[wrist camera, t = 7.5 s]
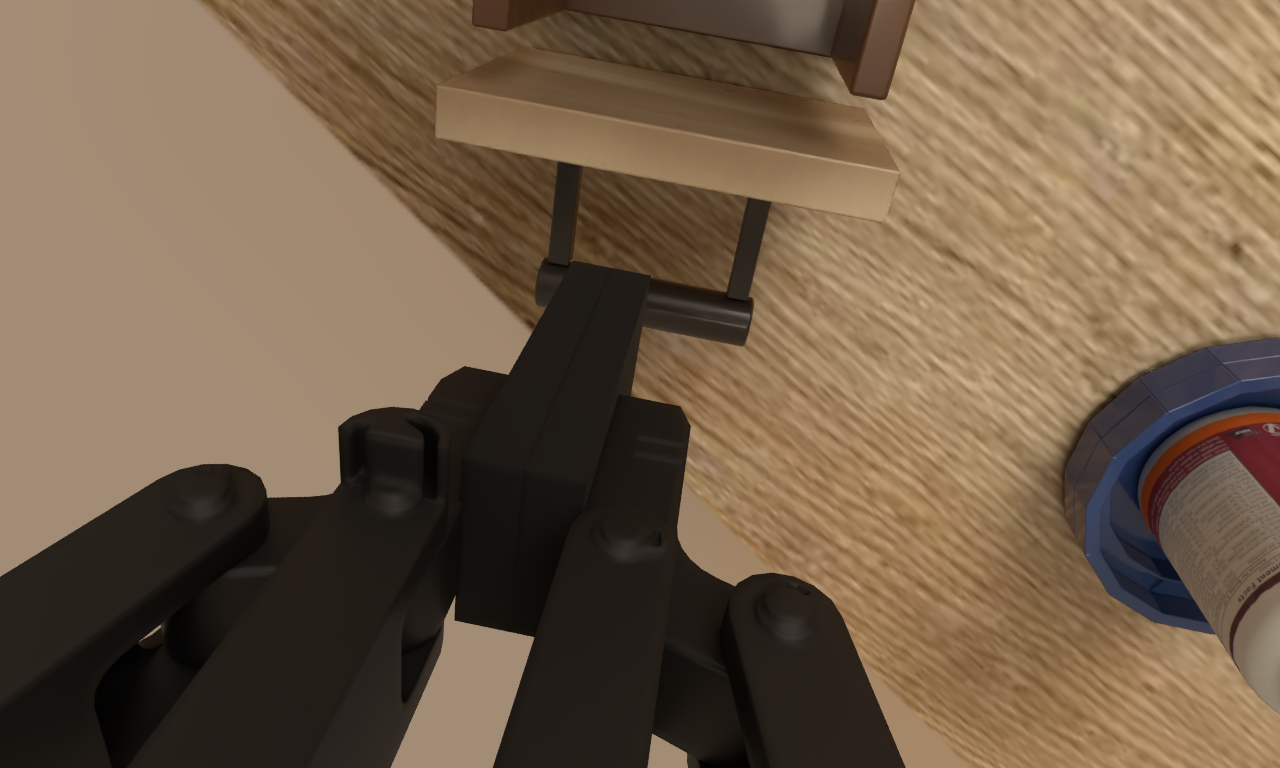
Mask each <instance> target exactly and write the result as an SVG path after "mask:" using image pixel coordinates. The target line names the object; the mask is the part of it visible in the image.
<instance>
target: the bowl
mask: <svg viewBox="0 0 1280 768" xmlns="http://www.w3.org/2000/svg"><path fill="white" fill-rule="evenodd" d="M1249 406H1256V407H1268V408H1276V409H1280V338H1271V339H1263V340H1256V341H1249V342H1241V343H1234V344H1227V345H1220V346H1212V347H1206V348H1203V349H1200V350H1198V351H1196V352H1194V353H1192V354H1189V355H1187V356H1185V357H1183V358H1180V359H1178V360H1176V361H1174V362H1172V363H1169V364H1167V365H1165V366H1163V367H1160V368H1158V369H1156V370H1154V371H1152V372H1149V373H1147V374H1145V375H1143V376H1141V377H1139V379H1136V380H1135V381H1134V382H1133V383H1132V384H1131V385H1129V386H1128V387H1127V388H1126V389H1125V390H1124V391H1123V392H1122V393H1120V394H1119V395H1118V396H1117V397H1116V398H1115V399H1114V400H1112V401H1111V402H1110V403H1109V404H1108V405H1107V406H1106V407H1105V408H1103V409H1102V410H1101V411H1100V412H1099V413H1098V414H1097V415H1096V416H1094V417H1093V418H1092V419H1091V420H1090V422H1089V423H1088V425H1087V427H1086V429H1085V430H1084V432H1083V434H1082V436H1081V438H1080V440H1079V442H1078V444H1077V446H1076V448H1075V450H1074V452H1073V454H1072V456H1071V458H1070V460H1069V462H1068V464H1067V465H1066V467H1065V518H1066V519H1067V521H1068V523H1069V525H1070V527H1071V529H1072V531H1073V533H1074V535H1075V537H1076V539H1077V541H1078V543H1079V545H1080V547H1081V549H1082V551H1083V553H1084V555H1085V556H1086V558H1087V560H1088V561H1089V563H1090V565H1091V566H1092V568H1093V570H1094V571H1095V573H1096V575H1097V576H1098V578H1099V580H1100V581H1101V583H1102V584H1103V586H1104V588H1105V589H1106V591H1107V593H1108V594H1109V595H1110V596H1112V597H1113V598H1115V599H1117V600H1118V601H1120V602H1122V603H1123V604H1125V605H1126V606H1128V607H1130V608H1131V609H1133V610H1134V611H1136V612H1138V613H1139V614H1141V615H1143V616H1144V617H1146V618H1147V619H1149V620H1151V621H1152V622H1155V623H1160V624H1164V625H1169V626H1174V627H1179V628H1184V629H1188V630H1193V631H1198V632H1203V633H1207V634H1216V633H1215V632H1214V630H1213V629H1212V627H1211V626H1210V624H1209V622H1208V621H1207V619H1206V618H1205V616H1204V615H1203V613H1202V611H1201V610H1200V608H1199V607H1198V605H1197V603H1196V602H1195V600H1194V599H1193V597H1192V596H1191V594H1190V592H1189V591H1188V589H1187V588H1186V586H1185V585H1184V583H1183V581H1182V580H1181V578H1180V577H1179V575H1178V573H1177V572H1176V570H1175V569H1174V567H1173V566H1172V564H1171V562H1170V561H1169V559H1168V558H1167V556H1166V555H1165V553H1164V552H1163V550H1162V549H1161V547H1160V545H1159V544H1158V542H1157V540H1156V538H1155V537H1154V535H1153V533H1152V532H1151V530H1150V529H1149V527H1148V525H1147V523H1146V521H1145V519H1144V517H1143V515H1142V513H1141V510H1140V507H1139V502H1138V482H1139V478H1140V475H1141V472H1142V470H1143V468H1144V466H1145V464H1146V462H1147V461H1148V459H1149V458H1150V456H1151V455H1152V454H1153V452H1154V451H1155V450H1156V449H1157V448H1158V447H1159V446H1160V445H1161V444H1162V443H1163V442H1164V441H1165V440H1166V439H1167V438H1168V437H1170V436H1171V435H1172V434H1174V433H1175V432H1176V431H1178V430H1179V429H1181V428H1182V427H1184V426H1186V425H1187V424H1189V423H1191V422H1193V421H1195V420H1197V419H1200V418H1202V417H1204V416H1207V415H1210V414H1213V413H1217V412H1220V411H1224V410H1229V409H1235V408H1240V407H1249Z"/></svg>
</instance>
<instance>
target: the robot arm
mask: <svg viewBox="0 0 1280 768" xmlns="http://www.w3.org/2000/svg"><path fill="white" fill-rule="evenodd" d="M650 278H651V275H645V274H640V273H635V272H630V271H624V270H619V269H614V268H609V267H604V266H598V265H593V264H588V263H583V262H577V261H572V263H571V265H570V267H569V269H568V270H567V272H566V274H565V276H564V277H563V279H562V281H561V283H560V284H559V286H558V288H557V290H556V292H555V293H554V295H553V297H552V299H551V300H550V302H549V304H548V306H547V308H546V309H545V311H544V313H543V315H542V316H541V318H540V320H539V322H538V324H537V325H536V327H535V329H534V331H533V332H532V334H531V336H530V338H529V340H528V341H527V343H526V345H525V347H524V348H523V350H522V352H521V354H520V356H519V357H518V359H517V361H516V363H515V364H514V366H513V368H512V370H511V372H510V373H509V375H506V374H501V373H496V372H491V371H486V370H481V369H476V368H471V367H466V366H464V367H462V368H461V369H459V370H457V371H455V372H453V373H452V374H450V375H448V376H447V377H445V378H442V379H441V380H440V382H439V383H438V384H437V386H436V387H435V389H434V390H433V391H432V393H431V394H430V396H429V397H428V401H425V403H424V404H423V406H422V407H421V408H420V410H416V409H411V408H399V407H387V408H380V409H371V410H368V411H365V412H363V413H360V414H357V415H355V416H352V417H350V418H349V419H348V420H347V421H345V422H344V423H343V424H341V425H340V426H339V427H338V432H339V453H340V473H341V474H340V475H341V483H340V484H339V486H338V487H337V488H336V490H335V491H334V493H333V494H329V495H324V496H313V497H286V498H285V497H282V498H267V494H266V489H265V486H264V484H263V482H262V480H261V478H260V477H259V476H257V475H256V474H254V473H253V472H251V471H250V470H248V469H246V468H242V467H237V466H233V465H229V464H203V465H199V466H194V467H189V468H185V469H180V470H178V471H175V472H173V473H171V474H169V475H167V476H164V477H162V478H160V479H158V480H156V481H155V482H153V483H152V484H150V485H149V486H147V487H145V488H144V489H142V490H140V491H139V492H137V493H135V494H134V495H132V496H130V497H129V498H127V499H126V500H124V501H122V502H121V503H119V504H118V505H116V506H114V507H113V508H111V509H110V510H108V511H106V512H105V513H103V514H101V515H100V516H98V517H97V518H95V519H93V520H92V521H90V522H88V523H87V524H85V525H83V526H82V527H80V528H79V529H77V530H75V531H74V532H73V533H71V534H69V535H67V536H66V537H64V538H62V539H61V540H59V541H58V542H56V543H54V544H53V545H51V546H50V547H48V548H46V549H45V550H43V551H41V552H40V553H38V554H37V555H35V556H33V557H32V558H30V559H28V560H27V561H25V562H24V563H22V564H20V565H19V566H17V567H16V568H14V569H12V570H11V571H9V572H7V573H6V574H4V575H2V576H1V577H0V768H390V767H391V765H392V763H393V761H394V758H395V756H396V753H397V751H398V749H399V747H400V745H401V742H402V740H403V738H404V735H405V733H406V731H407V729H408V726H409V724H410V722H411V719H412V717H413V715H414V713H415V710H416V708H417V706H418V703H419V701H420V699H421V697H422V694H423V692H424V689H425V687H426V685H427V683H428V680H429V678H430V676H431V674H432V671H433V669H434V667H435V664H436V662H437V659H438V658H439V655H440V653H441V648H442V642H443V632H444V631H443V630H444V619H445V617H446V615H447V613H448V610H449V608H450V606H451V604H452V602H453V599H454V597H455V595H456V598H455V621H460V622H465V623H469V624H474V625H479V626H484V627H489V628H493V629H498V630H504V631H508V632H513V633H517V634H523V635H527V636H532V637H535V638H534V641H533V644H532V647H531V650H530V653H529V656H528V659H527V663H526V666H525V669H524V672H523V675H522V678H521V681H520V684H519V688H518V691H517V694H516V697H515V700H514V703H513V706H512V709H511V713H510V716H509V719H508V722H507V725H506V728H505V731H504V734H503V737H502V741H501V744H500V747H499V750H498V753H497V756H496V759H495V762H494V765H493V768H647V766H648V759H649V752H650V744H651V737H652V734H654V735H656V736H658V737H660V738H662V739H663V740H665V741H667V742H669V743H670V744H673V745H674V746H676V747H678V748H680V749H681V750H683V751H685V752H687V764H688V768H905V765H904V763H903V761H902V758H901V756H900V753H899V751H898V749H897V746H896V744H895V741H894V739H893V737H892V734H891V732H890V730H889V727H888V725H887V722H886V720H885V718H884V715H883V713H882V710H881V708H880V706H879V704H878V701H877V699H876V696H875V694H874V691H873V689H872V687H871V684H870V682H869V679H868V677H867V675H866V672H865V670H864V668H863V665H862V663H861V660H860V658H859V656H858V653H857V651H856V648H855V646H854V644H853V641H852V639H851V637H850V634H849V632H848V629H847V627H846V625H845V622H844V620H843V618H842V616H841V614H840V613H839V611H838V610H837V608H836V607H835V605H834V603H833V602H832V600H831V599H830V598H828V597H827V596H826V595H825V594H823V593H822V592H821V591H820V590H818V589H817V588H816V587H815V586H813V585H811V584H809V583H807V582H804V581H802V580H800V579H798V578H796V577H793V576H788V575H782V574H776V573H766V574H758V575H752V576H750V577H748V578H746V579H745V580H743V581H741V582H739V583H738V584H737V585H736V587H735V586H733V585H731V584H729V583H727V582H724V581H722V580H720V579H718V578H716V577H714V576H712V575H711V574H709V573H707V572H706V571H704V570H702V569H701V568H700V567H699V566H697V565H696V564H695V563H694V562H693V561H692V560H690V558H689V557H688V556H687V554H686V553H685V552H684V550H683V549H682V547H681V545H680V542H679V540H678V537H677V536H678V535H677V524H678V516H679V508H680V502H681V494H682V487H683V480H684V472H685V464H686V458H687V449H688V443H689V436H690V428H691V426H690V424H689V422H688V420H687V418H686V416H685V414H684V412H683V411H682V409H681V407H680V406H676V405H670V404H665V403H660V402H655V401H650V400H645V399H640V398H635V397H630V396H631V390H632V384H633V378H634V372H635V366H636V360H637V354H638V349H639V343H640V337H641V331H642V325H643V319H644V313H645V307H646V301H647V295H648V289H649V284H650ZM159 625H161V628H160V629H159V630H157V631H156V632H155V633H153V634H152V635H150V636H149V637H147V638H145V639H143V638H144V637H145V636H146V635H148V634H149V633H150V632H151V631H153V630H154V629H155V628H157V627H158V626H159ZM141 639H143V640H142V641H140V640H141ZM139 641H140V642H139Z"/></svg>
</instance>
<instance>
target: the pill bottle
mask: <svg viewBox="0 0 1280 768" xmlns="http://www.w3.org/2000/svg"><path fill="white" fill-rule="evenodd" d="M1138 502H1139V507H1140V510H1141V513H1142V515H1143V517H1144V519H1145V521H1146V523H1147V525H1148V527H1149V529H1150V530H1151V532H1152V533H1153V535H1154V537H1155V538H1156V540H1157V542H1158V544H1159V545H1160V547H1161V549H1162V550H1163V552H1164V553H1165V555H1166V556H1167V558H1168V559H1169V561H1170V562H1171V564H1172V566H1173V567H1174V569H1175V570H1176V572H1177V573H1178V575H1179V577H1180V578H1181V580H1182V581H1183V583H1184V585H1185V586H1186V588H1187V589H1188V591H1189V592H1190V594H1191V596H1192V597H1193V599H1194V600H1195V602H1196V603H1197V605H1198V607H1199V608H1200V610H1201V611H1202V613H1203V615H1204V616H1205V618H1206V619H1207V621H1208V622H1209V624H1210V626H1211V627H1212V629H1213V630H1214V632H1215V633H1216V635H1217V637H1218V638H1219V640H1220V641H1221V643H1222V644H1223V646H1224V648H1225V649H1226V651H1227V652H1228V654H1229V656H1230V657H1231V659H1232V660H1233V662H1234V663H1235V665H1236V666H1237V668H1238V669H1239V671H1240V673H1241V674H1242V676H1243V677H1244V679H1245V680H1246V681H1247V683H1248V684H1249V686H1250V687H1251V688H1252V690H1253V691H1254V692H1255V693H1256V694H1257V695H1258V697H1259V698H1260V699H1261V700H1262V701H1264V702H1265V703H1266V704H1267V705H1268V706H1269V707H1271V708H1272V709H1273V710H1275V711H1276V712H1278V713H1279V714H1280V409H1276V408H1268V407H1256V406H1249V407H1240V408H1235V409H1229V410H1224V411H1220V412H1217V413H1213V414H1210V415H1207V416H1204V417H1202V418H1200V419H1197V420H1195V421H1193V422H1191V423H1189V424H1187V425H1186V426H1184V427H1182V428H1181V429H1179V430H1178V431H1176V432H1175V433H1174V434H1172V435H1171V436H1170V437H1168V438H1167V439H1166V440H1165V441H1164V442H1163V443H1162V444H1161V445H1160V446H1159V447H1158V448H1157V449H1156V450H1155V451H1154V452H1153V454H1152V455H1151V456H1150V458H1149V459H1148V461H1147V462H1146V464H1145V466H1144V468H1143V470H1142V472H1141V475H1140V478H1139V482H1138Z"/></svg>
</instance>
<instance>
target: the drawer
mask: <svg viewBox="0 0 1280 768" xmlns="http://www.w3.org/2000/svg"><path fill="white" fill-rule="evenodd" d="M914 4H915V0H473V12H472V24H473V25H474V26H477V27H482V28H488V29H493V30H499V31H504V32H505V31H508V30H511V29H514V28H517V27H520V26H522V25H525V24H528V23H531V22H533V21H536V20H539V19H542V18H544V17H547V16H550V15H553V14H555V13H558V12H561V11H564V10H570V11H576V12H581V13H587V14H592V15H598V16H603V17H609V18H614V19H620V20H625V21H631V22H636V23H642V24H647V25H653V26H658V27H664V28H669V29H675V30H681V31H686V32H692V33H697V34H703V35H708V36H714V37H719V38H725V39H730V40H736V41H741V42H747V43H752V44H758V45H763V46H769V47H774V48H780V49H785V50H791V51H797V52H802V53H808V54H813V55H819V56H824V57H830V58H832V60H833V61H834V63H835V65H836V67H837V69H838V71H839V73H840V75H841V77H842V79H843V80H844V82H845V84H846V86H847V88H848V90H849V92H850V93H851V94H852V95H855V96H861V97H866V98H872V99H877V100H885V99H886V97H887V96H888V92H889V89H890V85H891V82H892V79H893V75H894V72H895V68H896V65H897V62H898V58H899V55H900V51H901V48H902V45H903V41H904V38H905V34H906V31H907V27H908V24H909V21H910V17H911V14H912V10H913V7H914ZM435 137H436V138H438V139H442V140H448V141H453V142H458V143H463V144H469V145H474V146H479V147H484V148H490V149H495V150H500V151H505V152H511V153H516V154H521V155H527V156H532V157H537V158H542V159H548V160H553V161H558V164H557V174H556V184H555V194H554V204H553V214H552V224H551V234H550V244H549V255H548V257H547V258H544V259H543V261H542V263H541V265H540V268H539V271H538V275H537V280H536V286H535V302H536V305H538V306H540V307H545V308H547V306H548V304H549V302H550V300H551V299H552V297H553V295H554V293H555V292H556V290H557V288H558V286H559V284H560V283H561V281H562V279H563V277H564V276H565V274H566V272H567V270H568V269H569V267H570V265H571V263H572V262H571V260H572V259H573V251H574V242H575V234H576V225H577V216H578V208H579V199H580V190H581V181H582V173H583V166H584V167H590V168H595V169H600V170H606V171H611V172H616V173H621V174H627V175H632V176H637V177H642V178H648V179H653V180H658V181H663V182H669V183H674V184H679V185H685V186H690V187H695V188H700V189H706V190H711V191H716V192H721V193H727V194H732V195H737V196H742V197H747V202H746V206H745V211H744V215H743V220H742V224H741V229H740V233H739V238H738V242H737V247H736V251H735V256H734V260H733V265H732V269H731V274H730V278H729V282H728V287H727V292H723V291H718V290H712V289H707V288H702V287H697V286H692V285H687V284H682V283H677V282H672V281H666V280H661V279H656V278H650V284H649V289H648V295H647V301H646V307H645V313H644V319H643V325H642V327H646V328H651V329H656V330H661V331H666V332H671V333H676V334H681V335H686V336H692V337H697V338H702V339H707V340H712V341H717V342H722V343H727V344H732V345H737V346H744V345H745V343H746V340H747V337H748V333H749V329H750V325H751V320H752V314H753V308H754V299H753V298H752V297H749V293H750V289H751V285H752V281H753V276H754V272H755V268H756V264H757V260H758V255H759V251H760V247H761V243H762V239H763V234H764V230H765V226H766V222H767V218H768V213H769V209H770V205H771V202H774V203H779V204H785V205H790V206H795V207H800V208H806V209H811V210H816V211H821V212H827V213H832V214H837V215H843V216H848V217H853V218H858V219H864V220H869V221H874V222H879V223H883V222H884V221H885V220H886V217H887V214H888V211H889V208H890V205H891V201H892V198H893V195H894V192H895V189H896V186H897V182H898V179H899V176H900V171H899V169H898V167H897V166H896V164H895V162H894V160H893V158H892V157H891V155H890V153H889V151H888V150H887V148H886V146H885V144H884V142H883V141H882V139H881V137H880V135H879V134H878V132H877V130H876V128H875V126H874V125H873V123H872V121H871V119H870V118H869V116H868V114H867V112H866V110H865V109H862V108H857V107H851V106H846V105H840V104H835V103H830V102H824V101H819V100H813V99H808V98H802V97H797V96H791V95H786V94H780V93H775V92H770V91H764V90H759V89H753V88H748V87H742V86H737V85H731V84H726V83H721V82H715V81H710V80H704V79H699V78H693V77H688V76H682V75H677V74H672V73H666V72H661V71H655V70H650V69H644V68H639V67H633V66H628V65H623V64H617V63H612V62H606V61H601V60H595V59H590V58H584V57H579V56H573V55H568V54H563V53H557V52H552V51H546V50H541V49H535V48H530V47H524V46H523V47H521V48H518V49H516V50H514V51H512V52H509V53H507V54H505V55H503V56H501V57H498V58H496V59H494V60H492V61H489V62H487V63H485V64H483V65H480V66H478V67H476V68H474V69H472V70H469V71H467V72H465V73H463V74H460V75H458V76H456V77H454V78H452V79H449V80H447V81H445V82H443V83H440V84H438V85H437V86H436V109H435Z"/></svg>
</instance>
